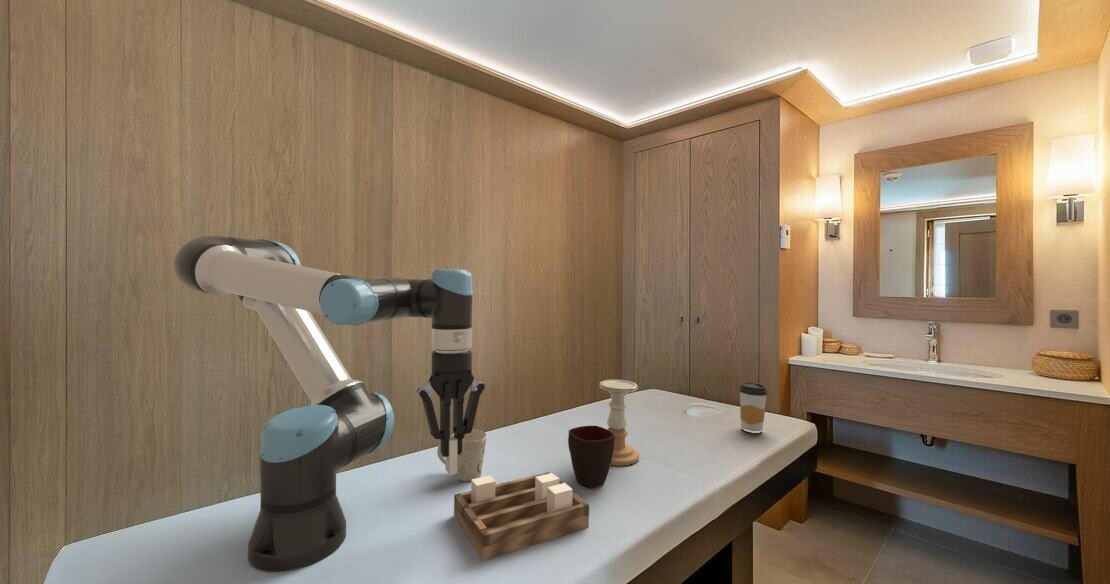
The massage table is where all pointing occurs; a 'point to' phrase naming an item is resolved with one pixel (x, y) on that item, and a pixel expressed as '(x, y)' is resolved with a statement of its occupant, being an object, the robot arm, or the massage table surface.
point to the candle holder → (619, 420)
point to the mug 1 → (469, 456)
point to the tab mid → (544, 485)
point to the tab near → (559, 497)
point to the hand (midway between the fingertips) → (451, 471)
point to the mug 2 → (591, 454)
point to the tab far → (482, 489)
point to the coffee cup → (752, 406)
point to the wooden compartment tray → (515, 518)
